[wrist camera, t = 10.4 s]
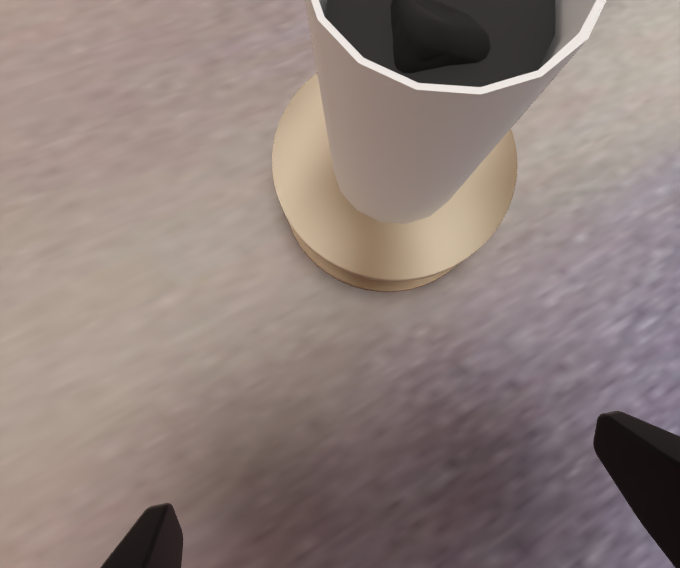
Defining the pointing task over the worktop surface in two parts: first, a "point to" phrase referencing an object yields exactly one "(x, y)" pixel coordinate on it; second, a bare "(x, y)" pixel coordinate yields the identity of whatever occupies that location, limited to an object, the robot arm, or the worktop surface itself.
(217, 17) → the worktop surface
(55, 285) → the worktop surface
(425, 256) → the birch stand
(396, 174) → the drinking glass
